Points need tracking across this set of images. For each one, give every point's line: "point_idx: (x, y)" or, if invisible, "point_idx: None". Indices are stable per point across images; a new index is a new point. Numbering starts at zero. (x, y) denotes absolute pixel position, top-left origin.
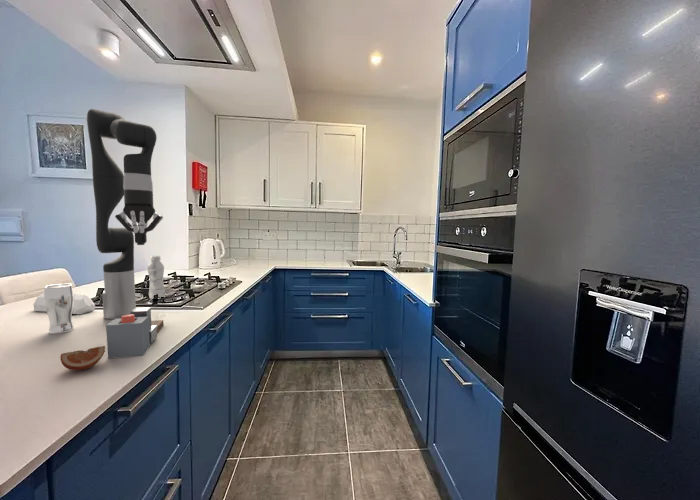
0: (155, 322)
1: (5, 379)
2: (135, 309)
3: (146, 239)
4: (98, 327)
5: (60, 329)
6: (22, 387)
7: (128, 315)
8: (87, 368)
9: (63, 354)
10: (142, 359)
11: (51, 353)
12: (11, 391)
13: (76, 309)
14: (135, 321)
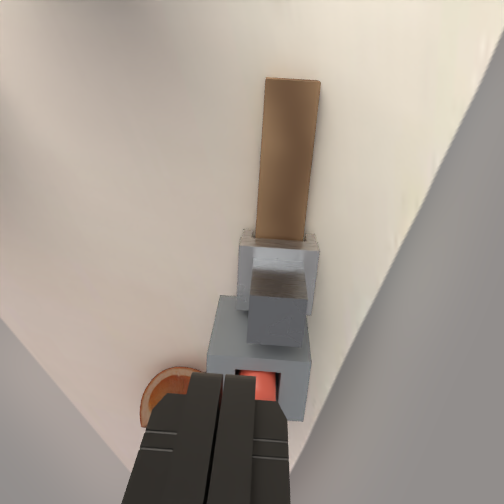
0: (292, 115)
1: (55, 382)
2: (255, 315)
3: (287, 445)
4: (50, 13)
5: None
6: (113, 423)
7: (256, 396)
8: None
9: (146, 426)
10: None
11: (52, 264)
12: (104, 432)
13: None
14: (281, 402)
